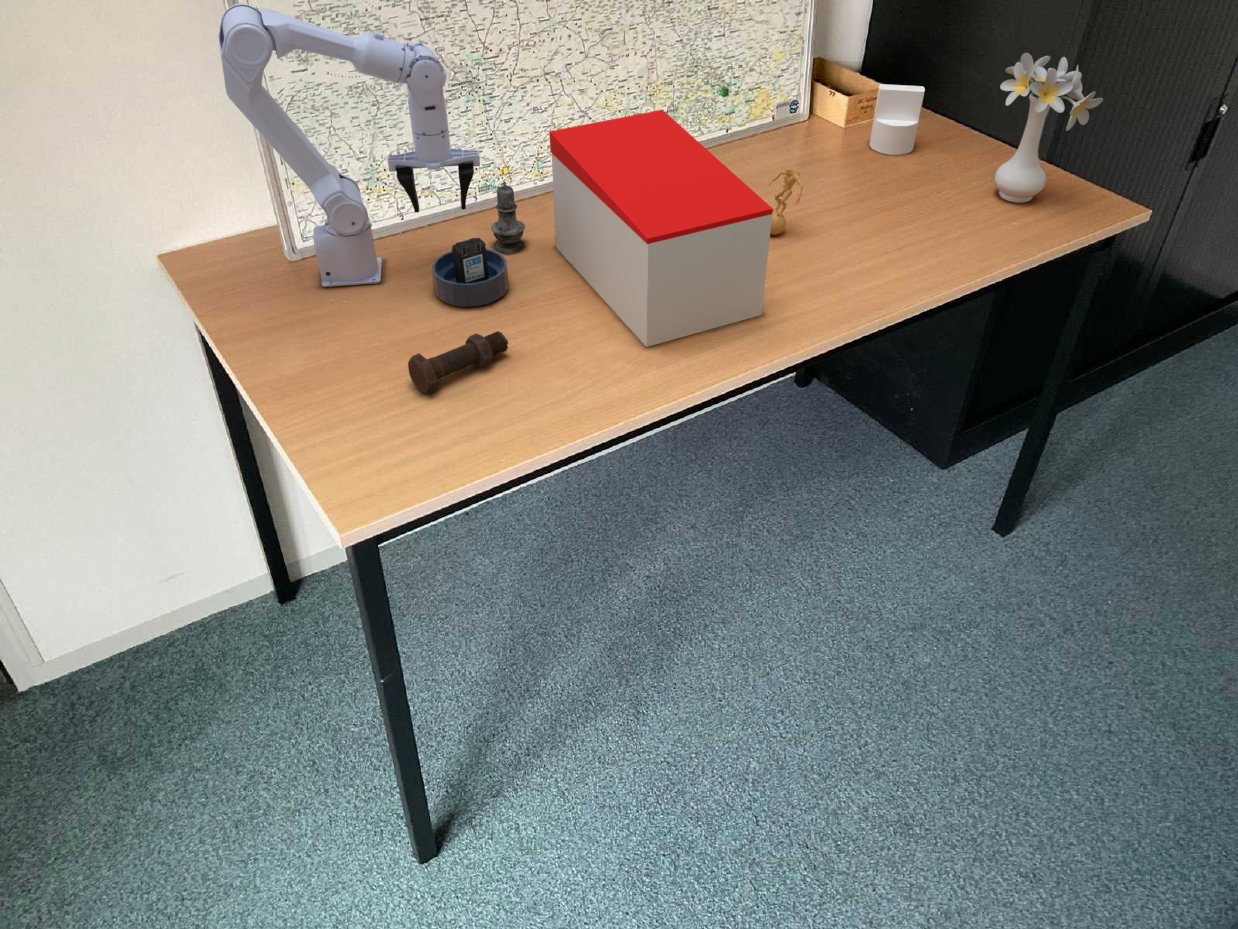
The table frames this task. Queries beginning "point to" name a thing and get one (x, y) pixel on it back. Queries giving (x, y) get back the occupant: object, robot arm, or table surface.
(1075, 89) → the flower vase
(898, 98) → the base with upright slab
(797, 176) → the figurine
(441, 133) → the robot arm
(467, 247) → the ink cartridge
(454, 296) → the bowl
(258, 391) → the table surface
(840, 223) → the table surface
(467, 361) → the bolt
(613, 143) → the red-topped grey box
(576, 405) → the table surface
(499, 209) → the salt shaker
